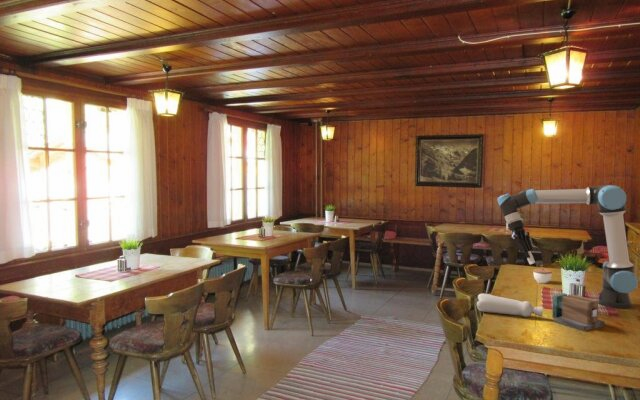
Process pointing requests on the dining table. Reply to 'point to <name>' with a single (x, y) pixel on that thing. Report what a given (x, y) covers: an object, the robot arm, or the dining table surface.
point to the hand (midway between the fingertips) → (532, 263)
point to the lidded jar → (542, 275)
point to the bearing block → (579, 313)
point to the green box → (559, 305)
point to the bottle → (506, 306)
